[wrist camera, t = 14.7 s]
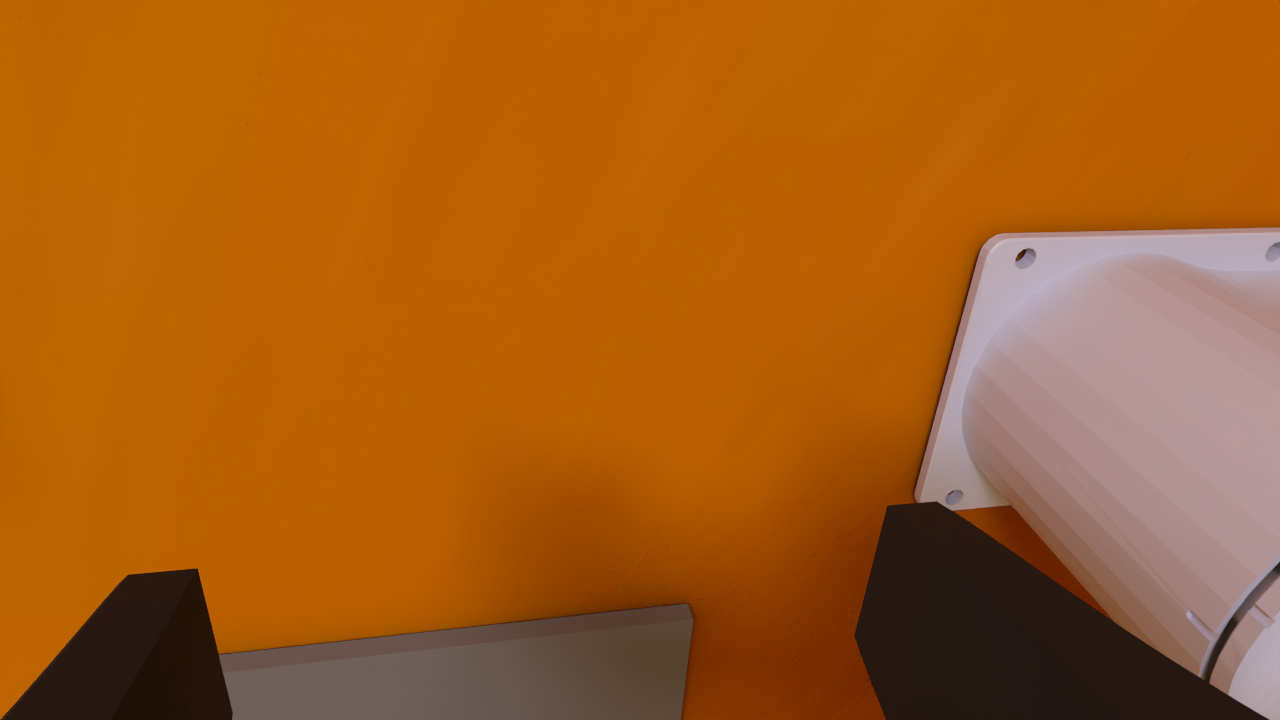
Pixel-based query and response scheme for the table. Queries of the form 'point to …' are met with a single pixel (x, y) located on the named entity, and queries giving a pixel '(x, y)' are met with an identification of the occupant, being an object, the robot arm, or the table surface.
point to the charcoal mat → (478, 672)
